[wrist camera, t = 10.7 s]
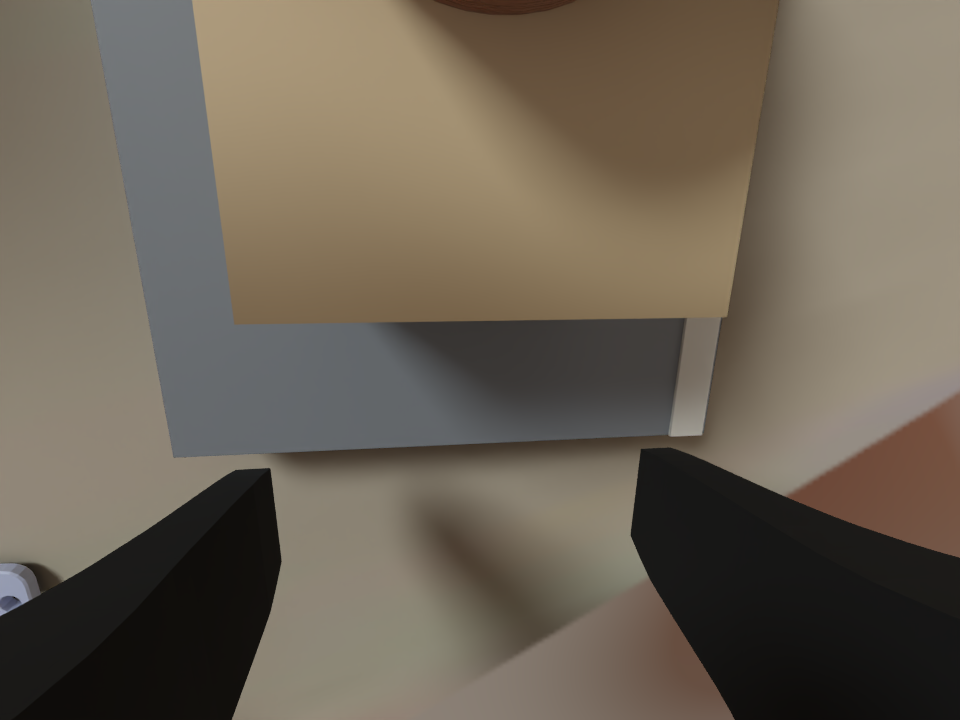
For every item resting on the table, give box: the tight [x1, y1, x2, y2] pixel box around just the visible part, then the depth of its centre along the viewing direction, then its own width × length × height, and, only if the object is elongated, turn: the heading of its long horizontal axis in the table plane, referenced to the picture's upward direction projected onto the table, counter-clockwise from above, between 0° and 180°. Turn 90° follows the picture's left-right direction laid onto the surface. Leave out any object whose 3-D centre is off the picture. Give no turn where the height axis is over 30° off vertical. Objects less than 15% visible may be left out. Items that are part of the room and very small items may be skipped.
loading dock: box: [91, 0, 722, 458], centre depth 10 cm, size 18×12×3 cm, turn 179°
